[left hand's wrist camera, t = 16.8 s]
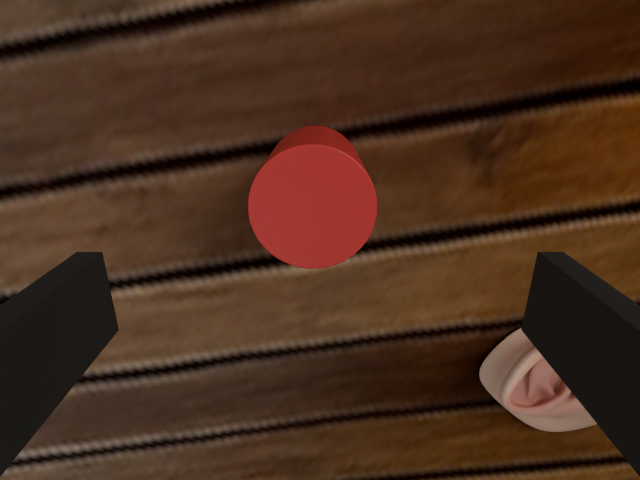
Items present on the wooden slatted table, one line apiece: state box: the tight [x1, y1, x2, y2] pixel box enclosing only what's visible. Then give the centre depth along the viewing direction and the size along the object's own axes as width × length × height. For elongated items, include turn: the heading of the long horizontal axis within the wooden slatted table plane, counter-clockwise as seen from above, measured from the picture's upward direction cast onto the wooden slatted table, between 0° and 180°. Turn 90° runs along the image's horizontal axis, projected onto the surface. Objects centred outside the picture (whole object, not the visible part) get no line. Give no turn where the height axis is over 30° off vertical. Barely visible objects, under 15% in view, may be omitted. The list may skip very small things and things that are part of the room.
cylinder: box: [248, 126, 377, 269], centre depth 24 cm, size 6×6×9 cm
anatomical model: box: [479, 328, 597, 432], centre depth 32 cm, size 13×4×12 cm
